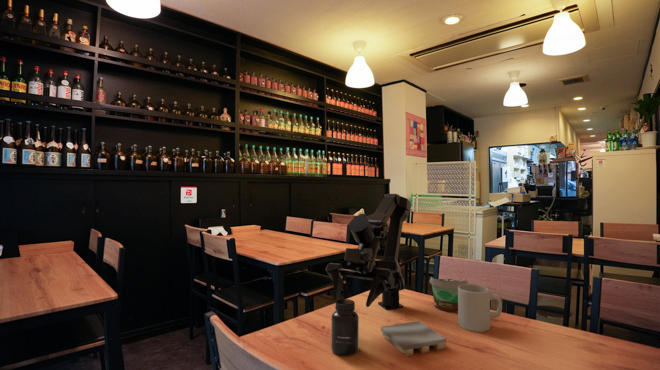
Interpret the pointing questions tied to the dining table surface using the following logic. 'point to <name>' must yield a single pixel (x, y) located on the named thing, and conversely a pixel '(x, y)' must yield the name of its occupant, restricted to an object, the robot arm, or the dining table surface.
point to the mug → (476, 307)
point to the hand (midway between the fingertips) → (350, 303)
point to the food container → (446, 293)
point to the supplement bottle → (345, 328)
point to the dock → (413, 337)
